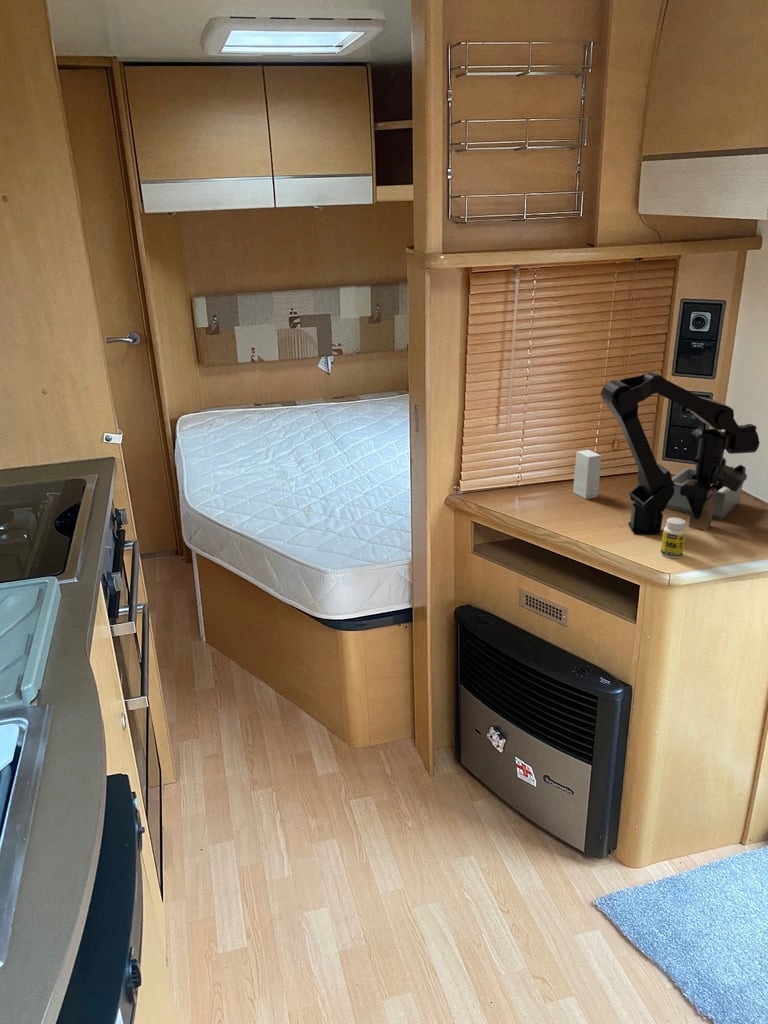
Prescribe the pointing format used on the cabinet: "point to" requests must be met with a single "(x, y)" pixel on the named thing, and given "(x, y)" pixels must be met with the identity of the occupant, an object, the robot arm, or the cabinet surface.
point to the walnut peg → (704, 514)
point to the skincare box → (587, 474)
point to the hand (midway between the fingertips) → (701, 514)
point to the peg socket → (722, 503)
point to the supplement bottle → (673, 538)
